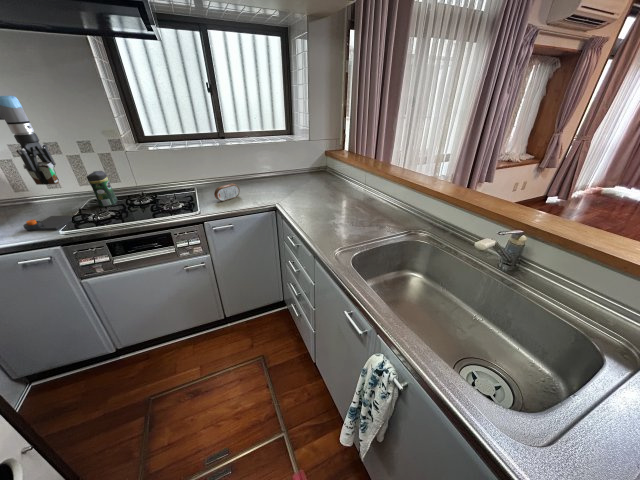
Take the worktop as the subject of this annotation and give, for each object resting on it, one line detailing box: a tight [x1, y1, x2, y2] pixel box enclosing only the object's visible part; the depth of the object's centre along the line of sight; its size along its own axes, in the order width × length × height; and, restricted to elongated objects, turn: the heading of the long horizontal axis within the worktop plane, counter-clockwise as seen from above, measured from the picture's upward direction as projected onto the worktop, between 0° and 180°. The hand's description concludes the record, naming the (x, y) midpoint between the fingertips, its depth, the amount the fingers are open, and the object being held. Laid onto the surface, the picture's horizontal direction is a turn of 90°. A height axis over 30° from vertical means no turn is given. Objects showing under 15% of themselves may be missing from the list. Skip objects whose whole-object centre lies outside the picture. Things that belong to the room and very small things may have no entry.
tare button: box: [25, 219, 37, 225], centre depth 125 cm, size 3×3×2 cm
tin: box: [213, 183, 241, 202], centre depth 155 cm, size 15×3×8 cm, turn 136°
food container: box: [22, 161, 59, 186], centre depth 133 cm, size 12×6×10 cm, turn 91°
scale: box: [22, 214, 76, 232], centre depth 130 cm, size 15×15×3 cm
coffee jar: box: [86, 170, 118, 208], centre depth 148 cm, size 10×8×19 cm
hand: (50, 182), depth 135 cm, fingers closed on food container, 5 cm apart
